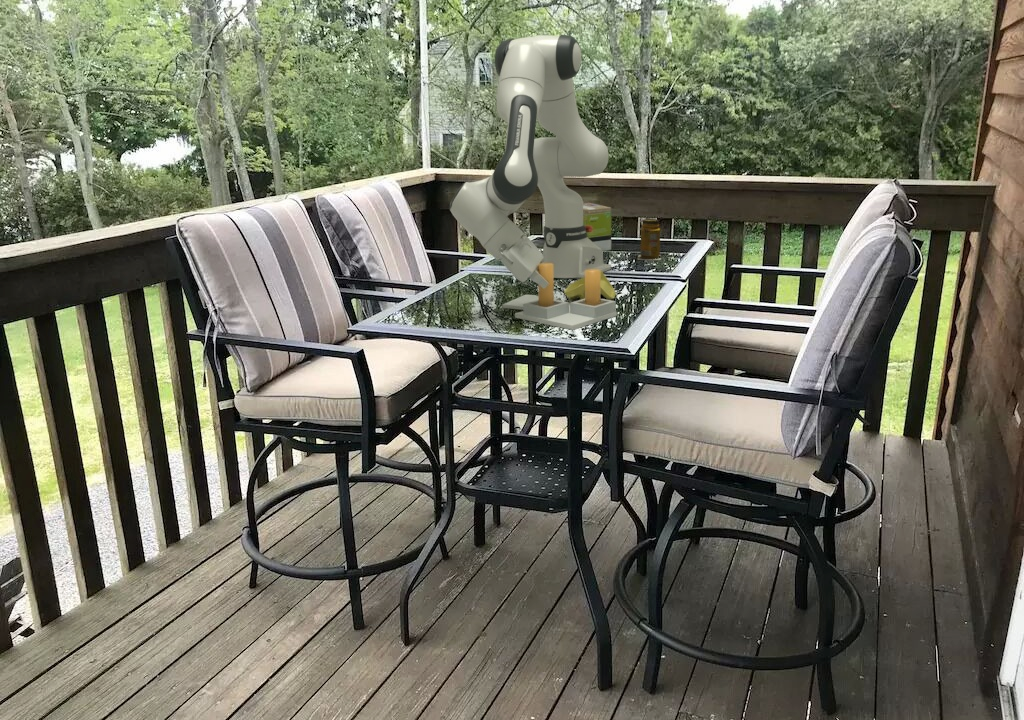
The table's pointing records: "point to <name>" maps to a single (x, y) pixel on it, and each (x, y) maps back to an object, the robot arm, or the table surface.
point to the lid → (522, 301)
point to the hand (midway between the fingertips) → (548, 283)
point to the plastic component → (578, 289)
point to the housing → (573, 307)
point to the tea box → (598, 224)
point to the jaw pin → (547, 293)
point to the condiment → (650, 240)
